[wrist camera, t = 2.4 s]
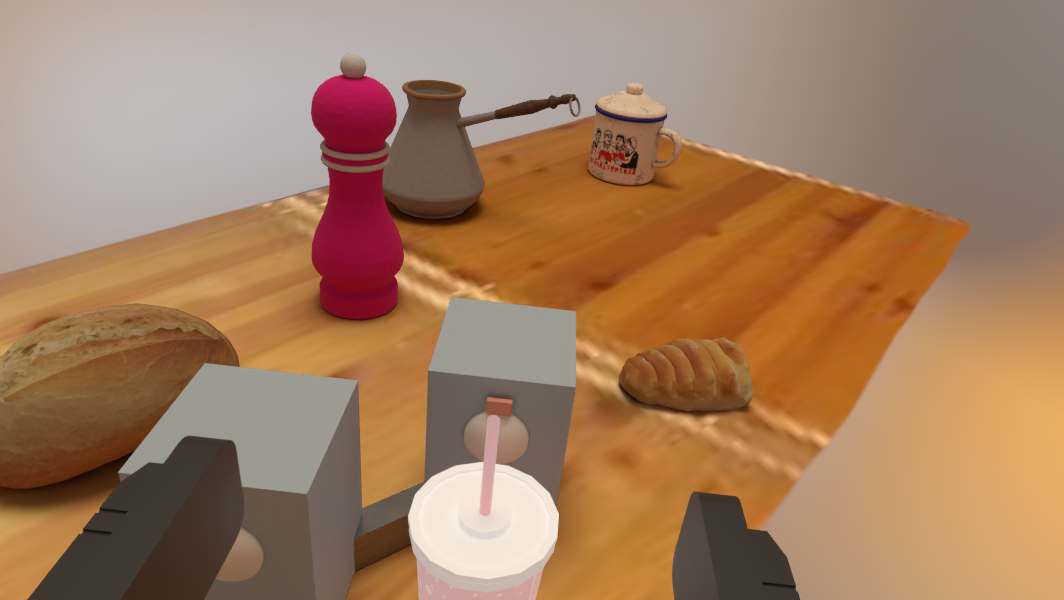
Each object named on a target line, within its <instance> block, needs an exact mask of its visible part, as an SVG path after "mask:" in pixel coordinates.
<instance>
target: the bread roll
mask: <svg viewBox="0 0 1064 600" xmlns="http://www.w3.org/2000/svg"><path fill="white" fill-rule="evenodd" d="M205 363H208V364H217V365H226V366H235V367H240V366H239V360H238V356H237V353H236V351H235V349H234V348H233V346H232V344H231V343H230V341H229V340H228V339H227V338H226V337H225V336H224V335H223V334H222V333H221V332H220V331H218V330H217V329H216V328H215V327H214V326H212V325H211V324H210V323H209V322H207V321H205V320H202V319H200V318H198V317H195V316H193V315H190V314H188V313H185V312H183V311H180V310H178V309H172V308H167V307H162V306H155V305H146V304H127V305H115V306H108V307H102V308H97V309H93V310H89V311H85V312H79V313H76V314H73V315H69V316H66V317H62V318H60V319H57V320H54V321H51V322H49V323H47V324H46V325H44V326H41V327H39V328H37V329H35V330H33V331H32V332H30V333H28V334H27V335H25V336H24V337H22V338H21V339H19V340H18V341H16V342H15V343H14V344H13V345H12V346H11V348H10V349H9V350H8V351H7V352H6V353H5V354H3V355H2V356H1V357H0V486H2V487H8V488H15V489H18V488H34V487H40V486H45V485H49V484H53V483H58V482H61V481H64V480H67V479H69V478H72V477H74V476H77V475H79V474H82V473H84V472H87V471H90V470H93V469H95V468H98V467H100V466H102V465H104V464H107V463H109V462H111V461H114V460H116V459H119V458H121V457H123V456H125V455H127V454H129V453H131V452H133V451H135V450H136V449H137V448H138V447H139V445H140V444H141V443H142V442H143V440H144V439H145V438H146V437H147V435H148V434H149V433H150V431H151V430H152V429H153V428H154V426H155V425H156V424H157V423H158V421H159V420H160V419H161V418H162V416H163V415H164V414H165V413H166V411H167V410H168V409H169V408H170V406H171V405H172V404H173V403H174V401H175V400H176V399H177V398H178V396H179V395H180V394H181V393H182V391H183V390H184V389H185V388H186V386H187V385H188V384H189V382H190V381H191V380H192V379H193V377H194V376H195V375H196V374H197V372H198V371H199V370H200V369H201V367H202V366H203V365H204V364H205Z"/></svg>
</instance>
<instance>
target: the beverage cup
mask: <svg viewBox="0 0 1064 600" xmlns="http://www.w3.org/2000/svg"><path fill="white" fill-rule="evenodd" d="M499 425H500V418H499V417H498V416H496V415H490V416H489V417H488V418H487V429H486V440H485V451H484V462H477V463H470V464H463V465H456V466H453V467H451V468H449V469H447V470H445V471H443V472H441V473H439V474H436V475H434V476H432V477H431V478H430V479H429V480H428V481H427V482H426V483H425V484H424V485H423V486H422V487H421V489H420V490H419V491H418V492H417V493H416V494H415V496H414V499H413V502H412V506H411V509H410V512H409V515H408V523H409V534H410V539H411V544H412V549H413V553H414V555H415V556H416V558H417V574H418V590H419V600H536V596H537V592H538V588H539V584H540V580H541V576H542V572H543V568H544V566H545V564H546V563H547V561H548V560H549V558H550V556H551V555H552V553H553V552H554V547H555V543H556V542H557V534H558V520H559V513H558V511H557V509H556V507H555V504H554V502H553V500H552V497H551V495H550V493H549V492H548V491H547V490H546V489H545V488H544V487H543V486H541V485H540V484H539V483H538V482H537V481H536V480H535V479H534V478H533V477H532V476H530V475H528V474H525V473H523V472H521V471H519V470H517V469H514V468H512V467H510V466H507V465H500V464H496V455H497V445H498V435H499Z"/></svg>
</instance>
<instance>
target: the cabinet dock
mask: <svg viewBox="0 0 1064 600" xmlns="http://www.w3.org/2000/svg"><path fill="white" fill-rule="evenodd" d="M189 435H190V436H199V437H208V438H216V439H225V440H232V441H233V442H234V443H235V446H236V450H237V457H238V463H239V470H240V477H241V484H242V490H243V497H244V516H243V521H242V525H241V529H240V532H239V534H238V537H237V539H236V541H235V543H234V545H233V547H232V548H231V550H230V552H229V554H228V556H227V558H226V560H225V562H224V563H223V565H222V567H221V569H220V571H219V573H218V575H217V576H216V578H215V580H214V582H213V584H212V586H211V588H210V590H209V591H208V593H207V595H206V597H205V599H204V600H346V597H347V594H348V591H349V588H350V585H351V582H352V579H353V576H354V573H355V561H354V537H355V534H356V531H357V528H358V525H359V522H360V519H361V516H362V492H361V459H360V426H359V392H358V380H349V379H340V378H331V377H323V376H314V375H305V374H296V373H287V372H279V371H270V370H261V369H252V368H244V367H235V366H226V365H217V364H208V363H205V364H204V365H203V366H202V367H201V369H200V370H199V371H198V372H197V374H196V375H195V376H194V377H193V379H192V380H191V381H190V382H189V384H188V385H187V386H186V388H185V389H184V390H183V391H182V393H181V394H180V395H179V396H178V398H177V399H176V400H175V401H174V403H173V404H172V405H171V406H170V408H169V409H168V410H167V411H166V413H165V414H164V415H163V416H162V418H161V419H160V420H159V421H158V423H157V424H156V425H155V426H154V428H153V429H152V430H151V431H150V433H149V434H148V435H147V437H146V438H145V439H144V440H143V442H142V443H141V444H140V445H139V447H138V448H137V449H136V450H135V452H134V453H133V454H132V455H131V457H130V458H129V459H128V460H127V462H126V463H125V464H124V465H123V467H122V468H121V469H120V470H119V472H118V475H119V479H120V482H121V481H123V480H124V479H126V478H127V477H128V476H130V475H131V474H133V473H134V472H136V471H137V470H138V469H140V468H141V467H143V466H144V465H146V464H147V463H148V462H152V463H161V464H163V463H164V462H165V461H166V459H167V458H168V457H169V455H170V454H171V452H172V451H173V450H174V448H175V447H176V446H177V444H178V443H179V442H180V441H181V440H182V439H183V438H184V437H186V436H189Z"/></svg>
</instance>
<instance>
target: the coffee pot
mask: <svg viewBox="0 0 1064 600" xmlns="http://www.w3.org/2000/svg"><path fill="white" fill-rule="evenodd" d="M402 89H403V91H404V92H405V93H406V94H407V98H408V103H409V107H408V110H407V112H406V114H405V116H404V118H403V121H402V123H401V125H400V128H399V130H398V132H397V134H396V136H395V139H394V141H393V143H392V145H391V148H390V150H389V152H388V156H389V158H390V162H389V164H388V165H387V166H386V167H384V173H383V194H384V195H385V196H386V197H387V199H388V200H389V201H390V202H391V203H393V204H394V205H396V207H397V208H398V209H399V210H400V211H402V212H403V213H405V214H408V215H411V216H414V217H419V218H426V219H443V218H450V217H454V216H457V215H459V214H461V213H462V212H463V211H465V209H466V208H468V207H470V206H471V205H472V204H473V203H474V202H475V201H476V200H477V199H478V198H479V197H480V195H481V193H482V192H483V189H484V184H485V183H484V179H483V176H482V174H481V171H480V168H479V165H478V163H477V160H476V157H475V154H474V151H473V149H472V146H471V143H470V140H469V138H468V135H467V132H466V129H465V127H466V126H469V125H473V124H477V123H481V122H485V121H490V120H493V119H502V118H508V117H514V116H520V115H526V114H533V113H535V112H538V111H540V110H543V109H546V108H548V107H550V108H552V109H555V108H556V107H557V106H558V105H559V104H568V103H569V107H570V111H571V114H572V115H573V116H576V117H577V116H578V115H579V114H580V103H579V100H578V99H577V98H576V96H575V95H574V94H572V95H571V94H567V95H562V96H561V97H555V96H550V97H549V98H548V99H544V100H529V101H526V102H523V103H519V104H516V105H512V106H510V107H506V108H502V109H499V110H496V111H494V112H489V113H483V114H478V115H474V116H468V117H463V118H461V115H460V113H459V104H460V101H461V98H462V97H463V96H465V94H466V90H465V89H464V88H463V87H462V86H460V85H457V84H454V83H450V82H444V81H436V80H417V81H410V82H407V83H405V84H404V85H403V87H402ZM575 100H576V101H577V103H578V114H577V115H575V114H574V113H573V110H572V107H571V102H572V101H575Z"/></svg>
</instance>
